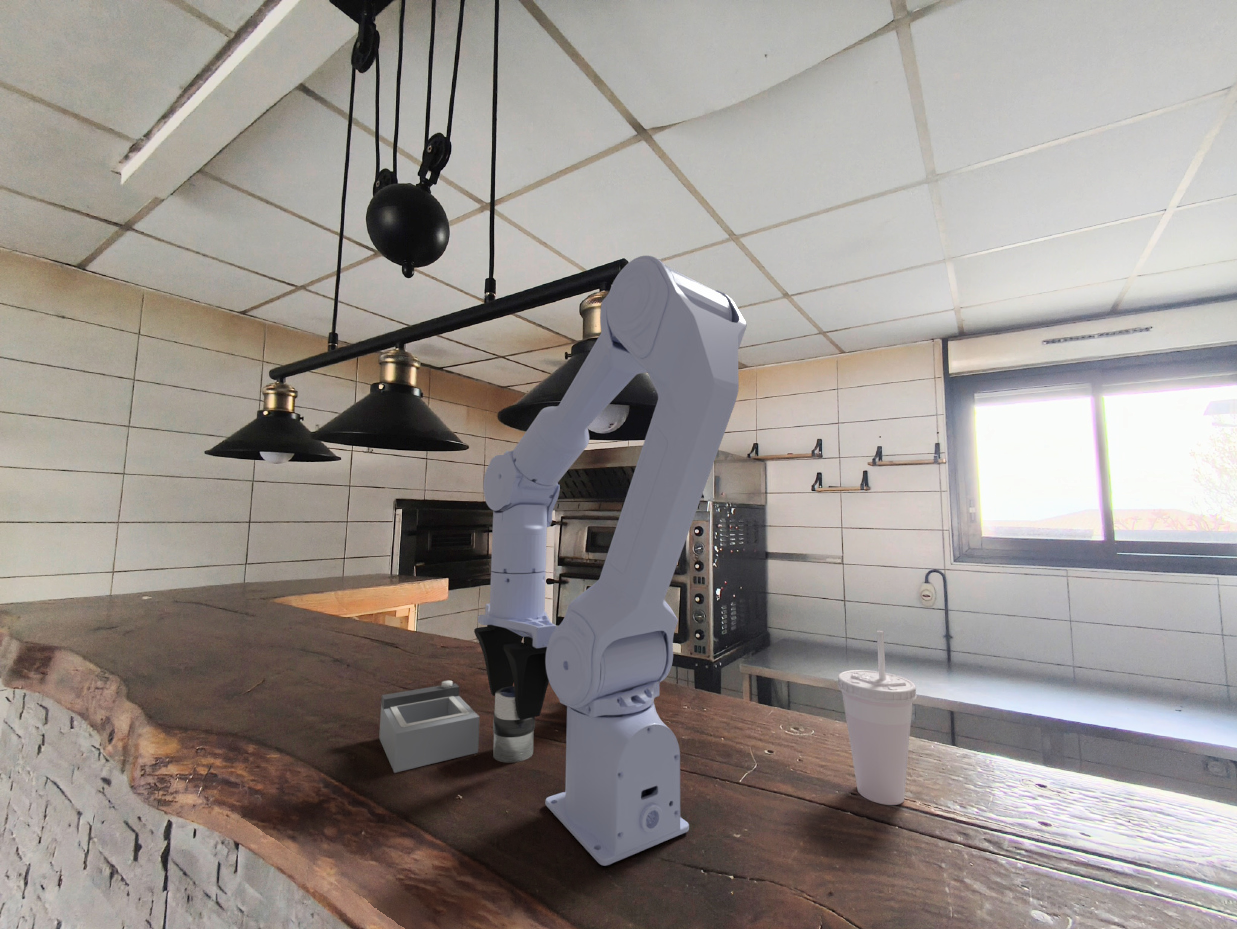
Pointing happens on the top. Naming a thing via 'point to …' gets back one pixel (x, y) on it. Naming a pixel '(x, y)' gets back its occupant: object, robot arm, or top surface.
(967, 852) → the top surface
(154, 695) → the top surface
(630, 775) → the robot arm
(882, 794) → the smoothie
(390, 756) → the grey sink basin
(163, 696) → the top surface
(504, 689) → the lens
